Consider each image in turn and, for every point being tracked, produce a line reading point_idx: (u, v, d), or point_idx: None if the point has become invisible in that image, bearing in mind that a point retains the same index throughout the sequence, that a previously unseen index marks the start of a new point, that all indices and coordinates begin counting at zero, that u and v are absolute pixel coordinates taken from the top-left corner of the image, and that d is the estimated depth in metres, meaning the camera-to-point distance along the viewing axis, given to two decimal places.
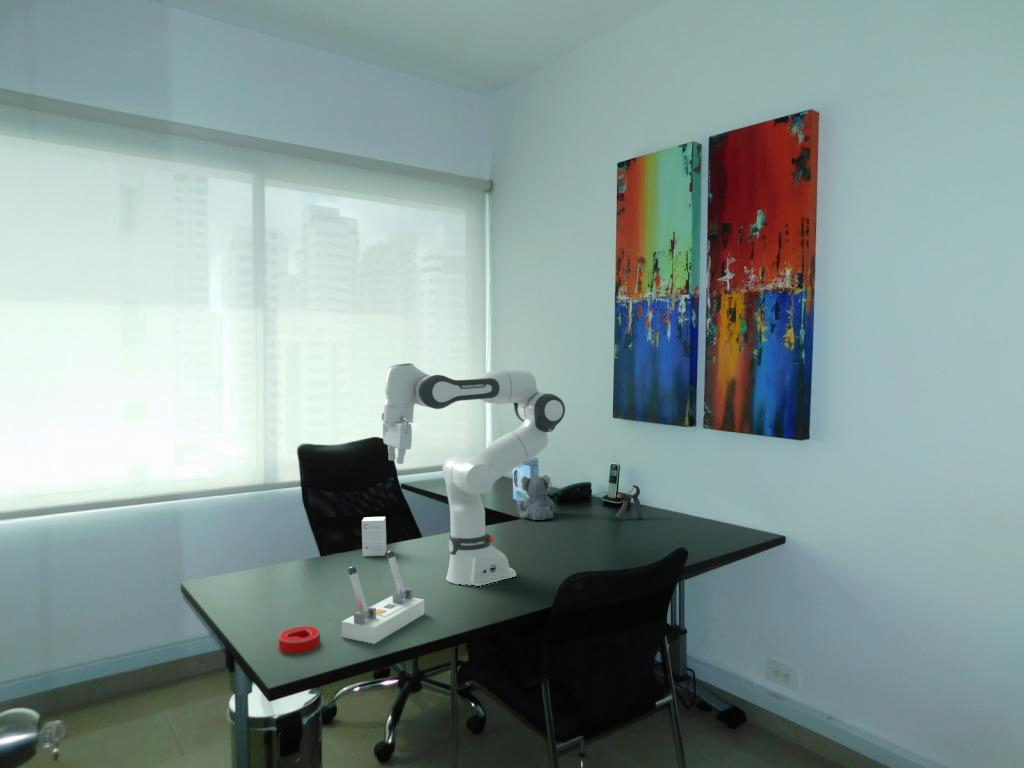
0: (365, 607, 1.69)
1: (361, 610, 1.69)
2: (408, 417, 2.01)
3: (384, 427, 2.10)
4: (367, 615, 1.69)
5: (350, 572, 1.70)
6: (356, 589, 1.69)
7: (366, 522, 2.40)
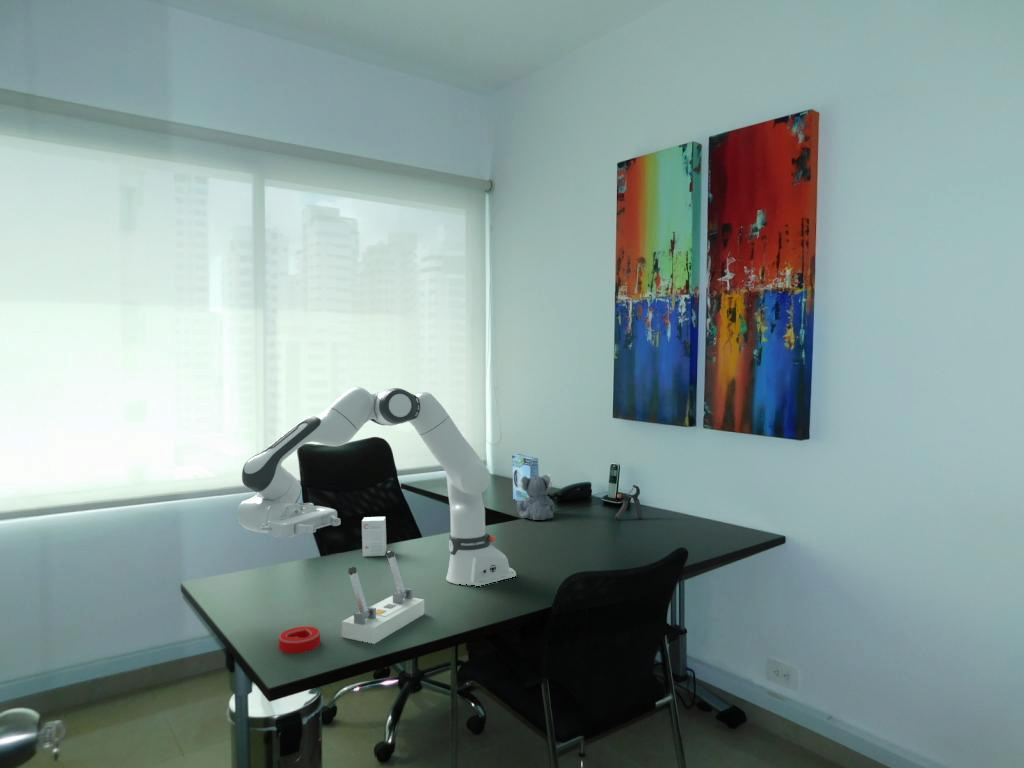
0: (365, 607, 1.69)
1: (361, 610, 1.69)
2: (276, 515, 1.77)
3: None
4: (367, 615, 1.69)
5: (350, 572, 1.70)
6: (356, 589, 1.69)
7: (366, 522, 2.40)
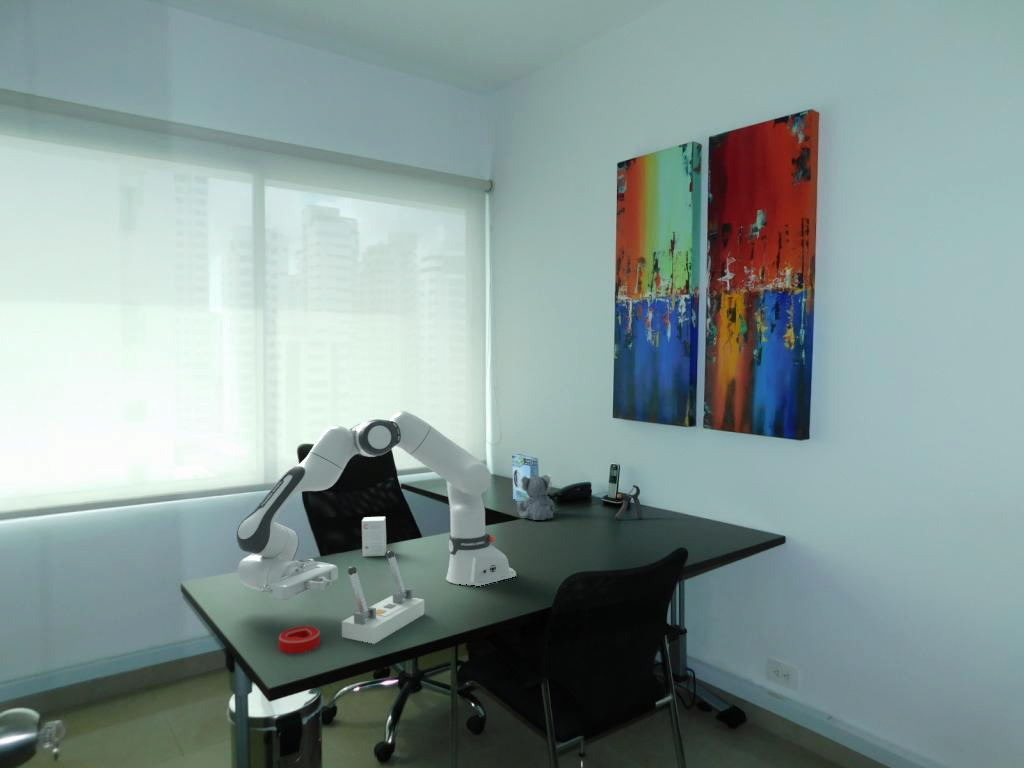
0: (365, 607, 1.69)
1: (361, 610, 1.69)
2: (276, 574, 1.77)
3: None
4: (367, 615, 1.69)
5: (350, 572, 1.70)
6: (356, 589, 1.69)
7: (366, 522, 2.40)
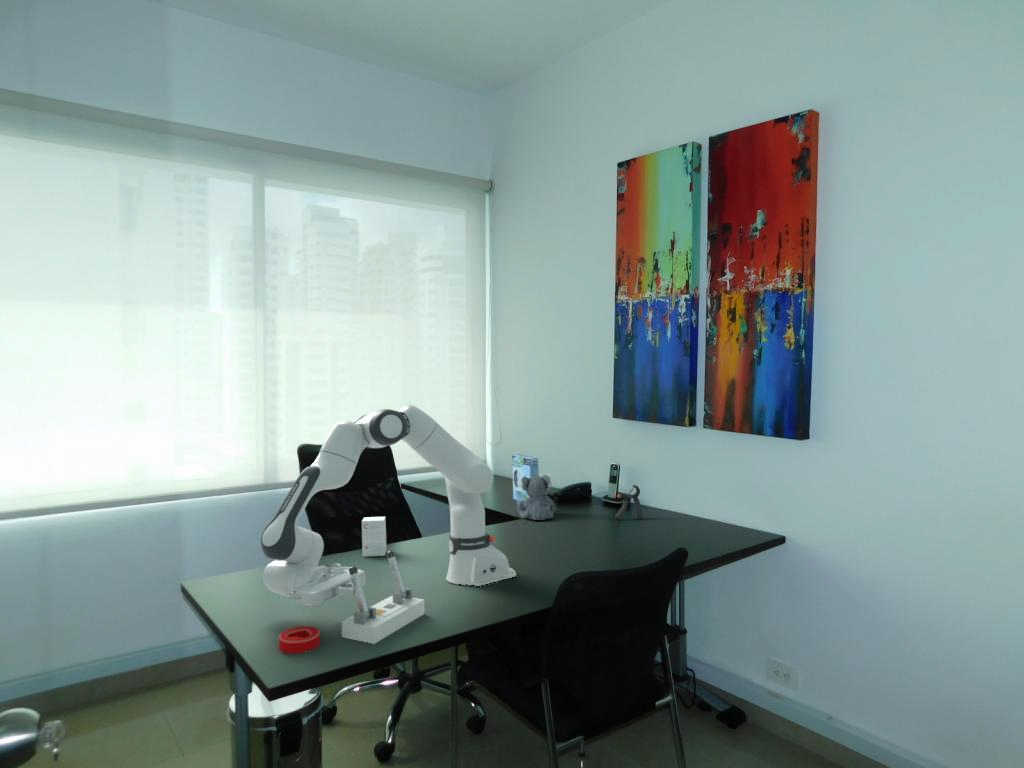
0: (365, 607, 1.69)
1: (361, 610, 1.69)
2: (304, 580, 1.73)
3: None
4: (367, 615, 1.69)
5: (351, 572, 1.70)
6: (357, 589, 1.69)
7: (366, 522, 2.40)
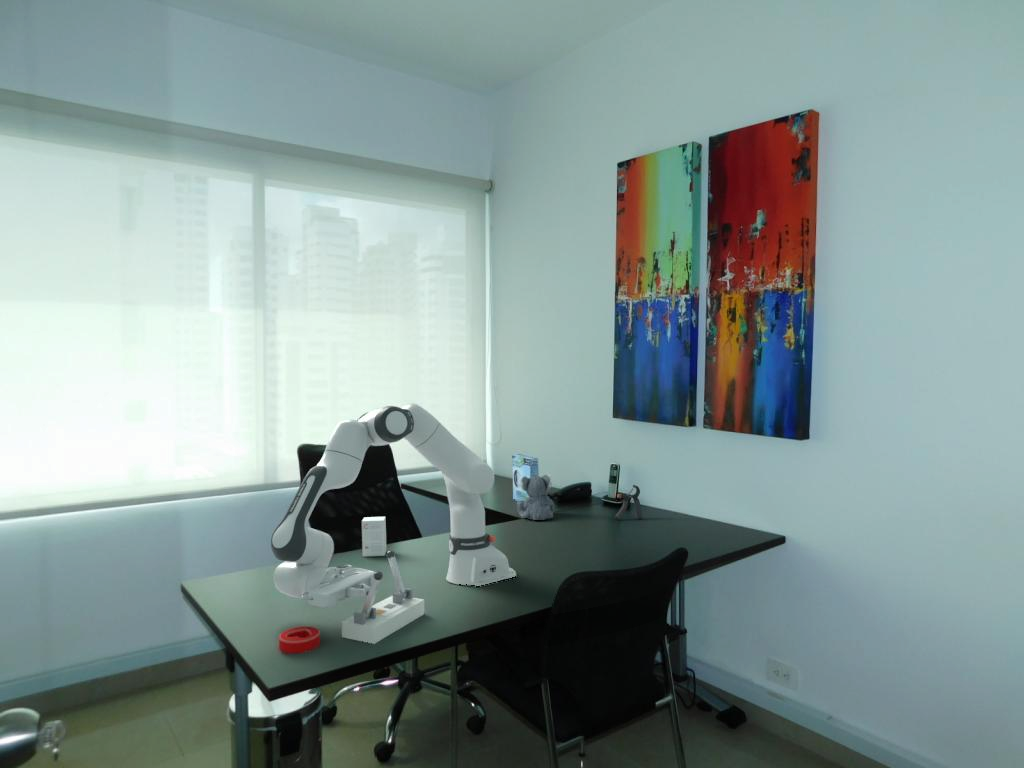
0: (369, 610, 1.69)
1: (364, 610, 1.69)
2: (315, 581, 1.71)
3: None
4: (366, 617, 1.69)
5: (376, 577, 1.66)
6: (371, 593, 1.67)
7: (366, 522, 2.40)
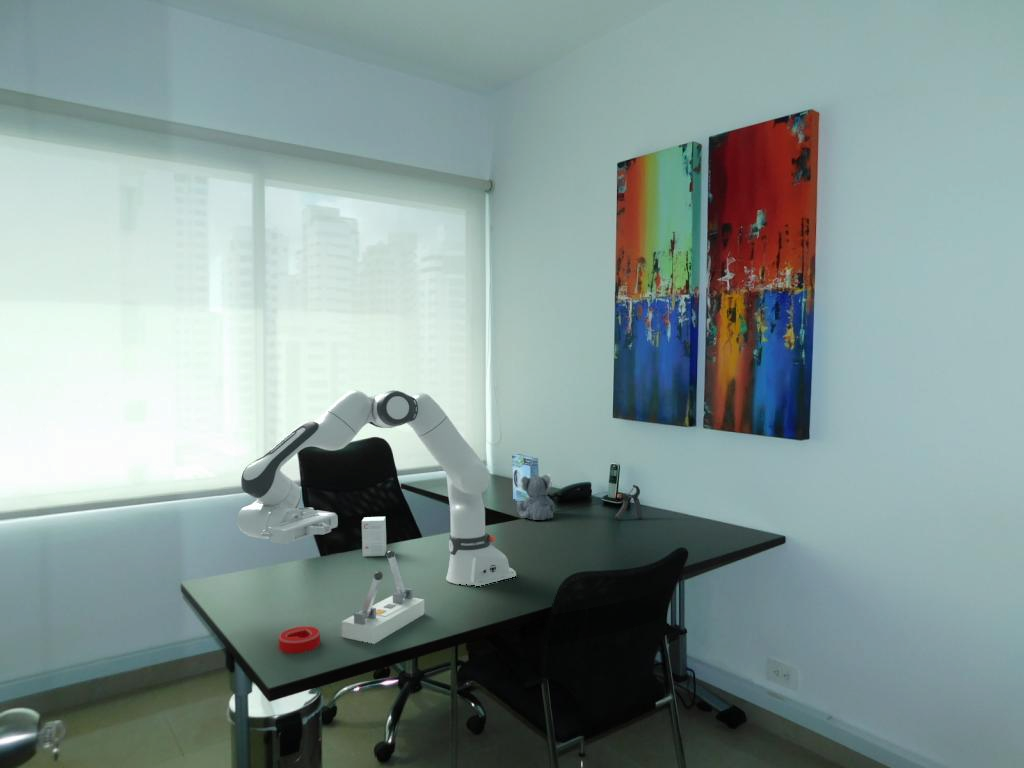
0: (369, 610, 1.69)
1: (364, 610, 1.69)
2: (276, 520, 1.77)
3: None
4: (366, 617, 1.69)
5: (376, 577, 1.66)
6: (371, 593, 1.67)
7: (366, 522, 2.40)
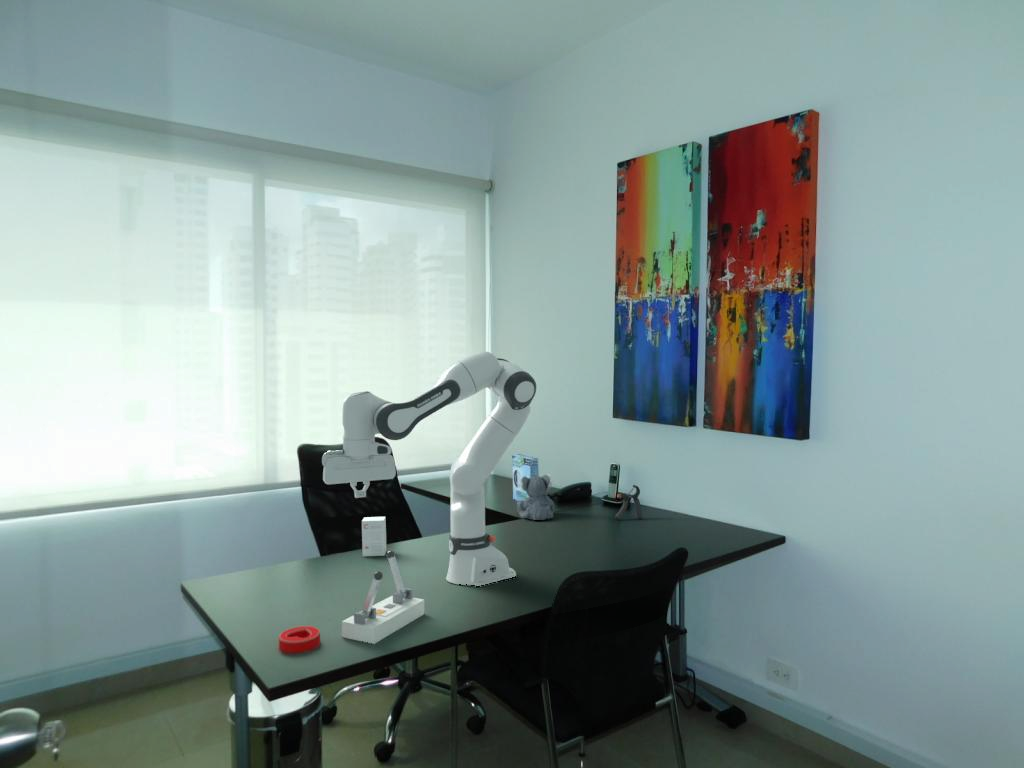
0: (369, 610, 1.69)
1: (364, 610, 1.69)
2: (346, 450, 1.87)
3: None
4: (366, 617, 1.69)
5: (376, 577, 1.66)
6: (371, 593, 1.67)
7: (366, 522, 2.40)
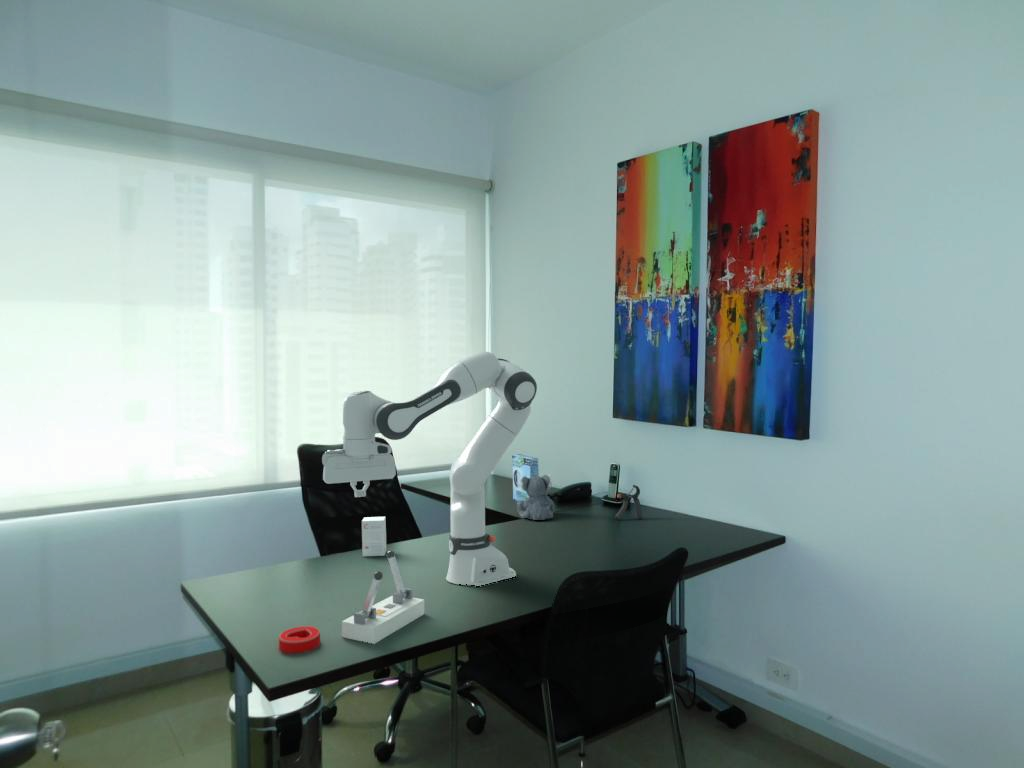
0: (369, 610, 1.69)
1: (364, 610, 1.69)
2: (346, 450, 1.87)
3: None
4: (366, 617, 1.69)
5: (376, 577, 1.66)
6: (371, 593, 1.67)
7: (366, 522, 2.40)
